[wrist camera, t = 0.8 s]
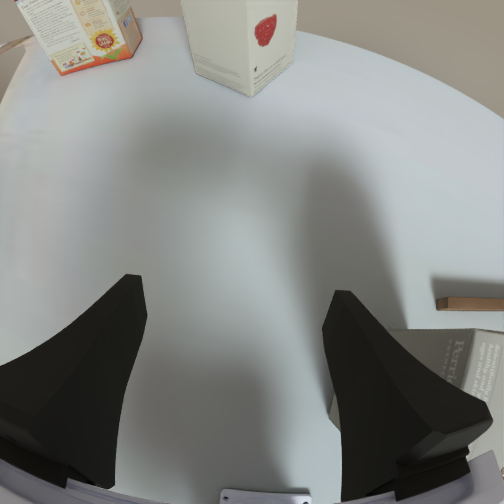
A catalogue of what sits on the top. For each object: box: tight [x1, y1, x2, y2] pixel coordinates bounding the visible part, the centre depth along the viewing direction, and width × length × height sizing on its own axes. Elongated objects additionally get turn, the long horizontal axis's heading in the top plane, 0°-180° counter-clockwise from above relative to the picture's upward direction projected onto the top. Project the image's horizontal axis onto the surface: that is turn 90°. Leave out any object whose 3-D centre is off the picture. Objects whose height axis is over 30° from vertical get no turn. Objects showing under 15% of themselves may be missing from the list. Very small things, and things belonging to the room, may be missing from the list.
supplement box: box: [180, 0, 298, 97], centre depth 25 cm, size 9×9×15 cm
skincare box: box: [329, 328, 504, 481], centre depth 15 cm, size 8×7×16 cm
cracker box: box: [14, 0, 142, 76], centre depth 25 cm, size 14×6×21 cm, turn 86°
